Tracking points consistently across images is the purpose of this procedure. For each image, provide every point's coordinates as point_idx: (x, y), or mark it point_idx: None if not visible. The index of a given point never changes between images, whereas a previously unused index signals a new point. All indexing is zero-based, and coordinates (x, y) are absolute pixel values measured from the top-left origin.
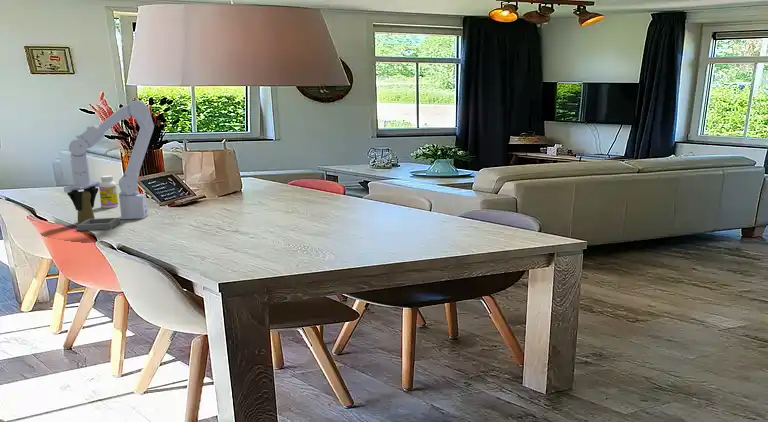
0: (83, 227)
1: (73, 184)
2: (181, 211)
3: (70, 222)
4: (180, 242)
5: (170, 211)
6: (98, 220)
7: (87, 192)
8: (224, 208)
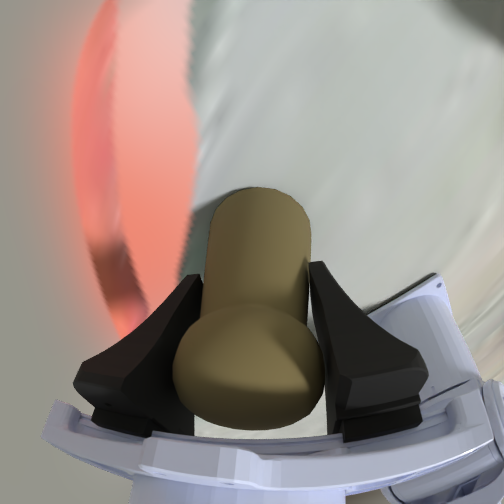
0: None
1: (148, 471)
2: (487, 347)
3: (198, 151)
4: None
5: (494, 328)
6: None
7: (262, 429)
8: (495, 375)
